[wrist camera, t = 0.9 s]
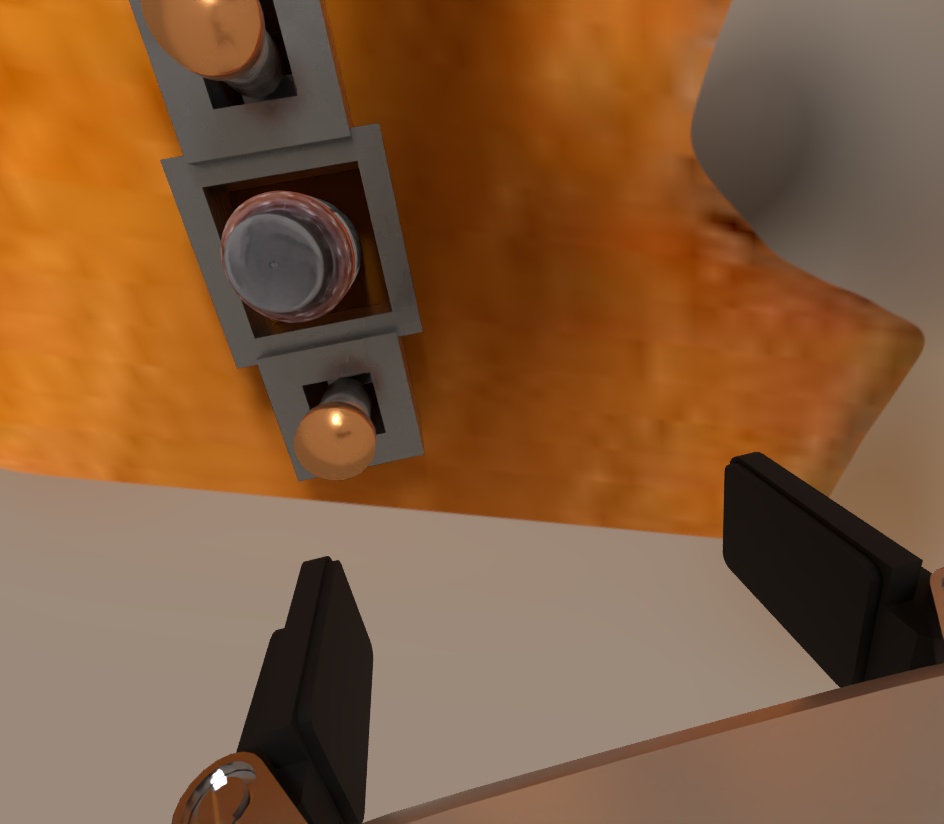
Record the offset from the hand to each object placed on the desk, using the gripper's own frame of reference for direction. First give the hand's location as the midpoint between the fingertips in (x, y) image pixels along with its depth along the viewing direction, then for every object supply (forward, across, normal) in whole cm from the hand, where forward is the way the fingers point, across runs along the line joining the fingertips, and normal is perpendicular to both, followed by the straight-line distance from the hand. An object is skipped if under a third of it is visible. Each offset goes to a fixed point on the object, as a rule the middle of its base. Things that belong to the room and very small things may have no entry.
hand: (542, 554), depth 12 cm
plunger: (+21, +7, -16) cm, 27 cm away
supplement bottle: (+24, +7, -7) cm, 26 cm away
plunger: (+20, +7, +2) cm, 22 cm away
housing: (+24, +7, -7) cm, 26 cm away
